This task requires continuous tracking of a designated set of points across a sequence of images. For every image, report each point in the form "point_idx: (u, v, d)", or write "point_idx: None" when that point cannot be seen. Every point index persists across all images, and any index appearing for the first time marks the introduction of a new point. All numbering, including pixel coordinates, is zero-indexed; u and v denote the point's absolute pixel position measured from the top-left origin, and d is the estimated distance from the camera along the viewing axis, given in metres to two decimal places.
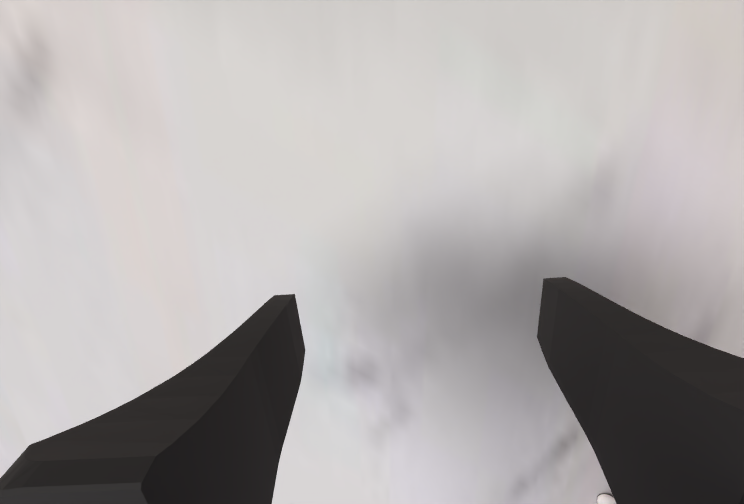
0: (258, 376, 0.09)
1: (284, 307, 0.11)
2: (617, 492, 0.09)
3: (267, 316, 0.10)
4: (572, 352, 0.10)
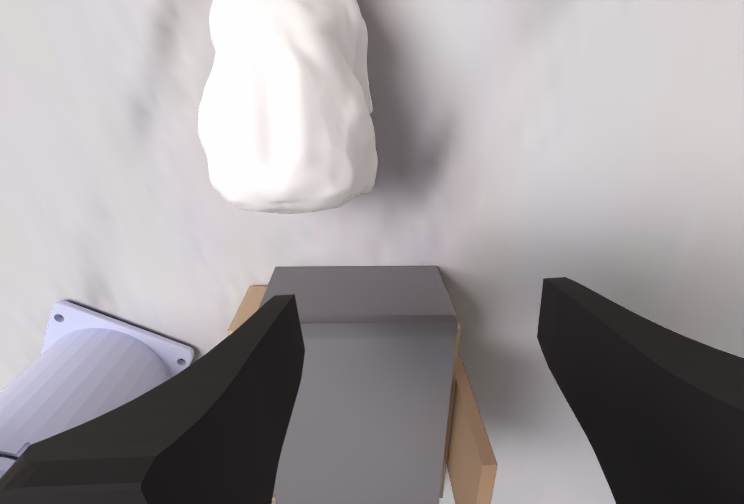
0: (258, 376, 0.09)
1: (284, 307, 0.11)
2: (617, 492, 0.09)
3: (267, 316, 0.10)
4: (572, 352, 0.10)
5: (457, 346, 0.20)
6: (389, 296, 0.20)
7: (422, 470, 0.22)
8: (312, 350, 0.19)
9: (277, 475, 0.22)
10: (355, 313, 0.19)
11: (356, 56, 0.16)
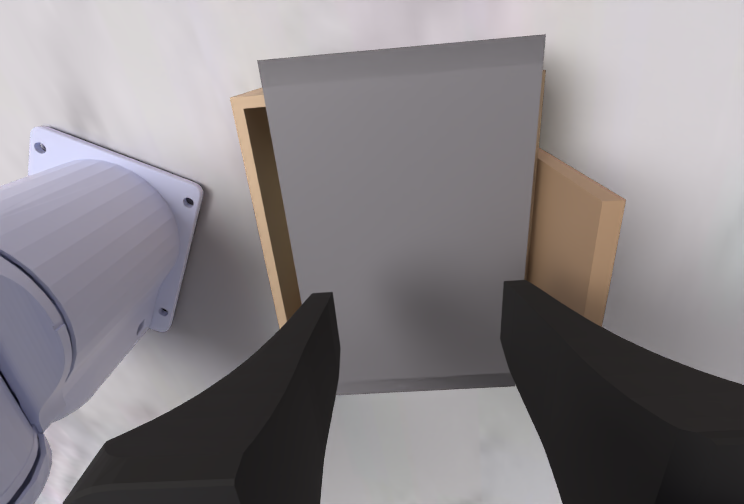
0: (308, 373, 0.09)
1: (326, 304, 0.11)
2: (564, 494, 0.09)
3: (311, 313, 0.10)
4: (526, 355, 0.10)
5: (540, 102, 0.15)
6: None
7: (496, 295, 0.17)
8: (342, 101, 0.14)
9: None
10: None
11: None
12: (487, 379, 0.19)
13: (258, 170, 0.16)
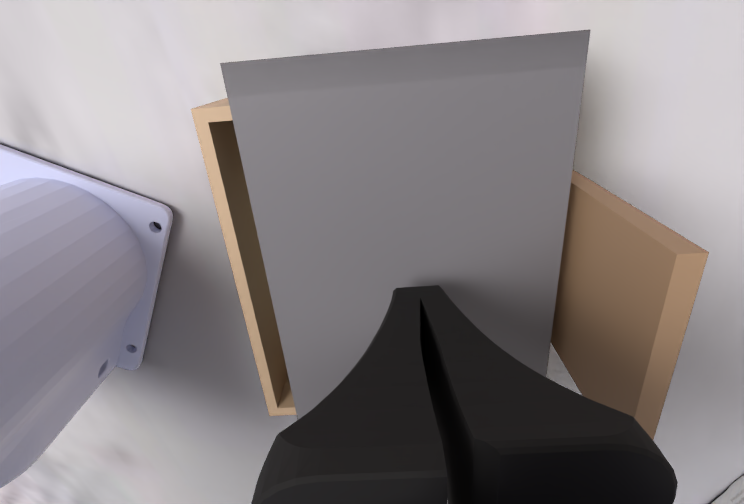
0: None
1: (419, 299, 0.11)
2: (448, 498, 0.09)
3: (408, 308, 0.10)
4: (428, 360, 0.10)
5: None
6: None
7: (518, 345, 0.14)
8: (329, 114, 0.11)
9: (293, 362, 0.14)
10: None
11: None
12: None
13: (230, 196, 0.13)
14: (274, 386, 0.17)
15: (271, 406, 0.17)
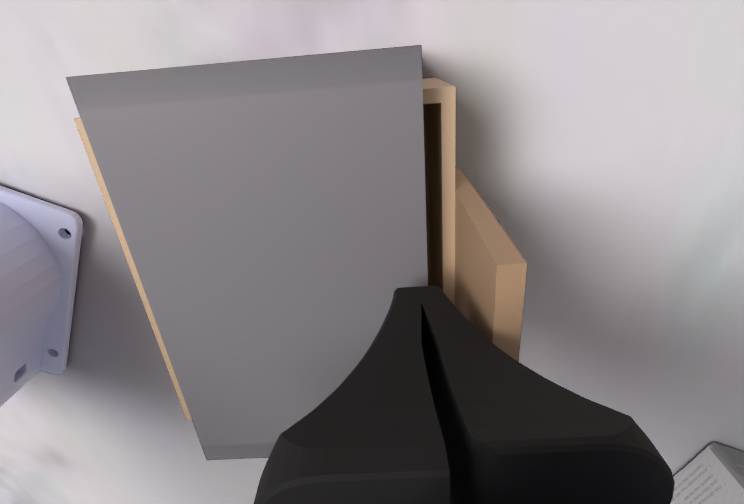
0: None
1: (420, 299, 0.11)
2: None
3: (410, 307, 0.10)
4: (427, 360, 0.10)
5: (451, 124, 0.12)
6: None
7: None
8: (179, 126, 0.11)
9: (180, 367, 0.15)
10: None
11: None
12: None
13: None
14: None
15: None
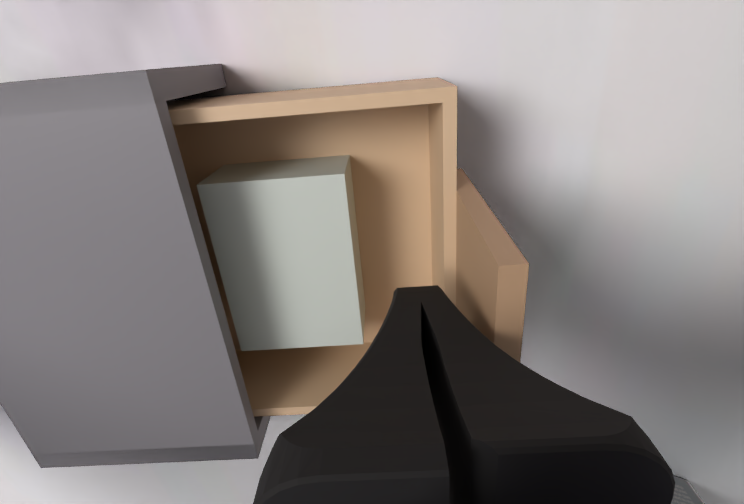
0: None
1: (420, 299, 0.11)
2: None
3: (409, 307, 0.10)
4: (427, 360, 0.10)
5: (453, 124, 0.12)
6: None
7: (199, 363, 0.15)
8: None
9: None
10: None
11: None
12: (224, 451, 0.16)
13: None
14: None
15: None
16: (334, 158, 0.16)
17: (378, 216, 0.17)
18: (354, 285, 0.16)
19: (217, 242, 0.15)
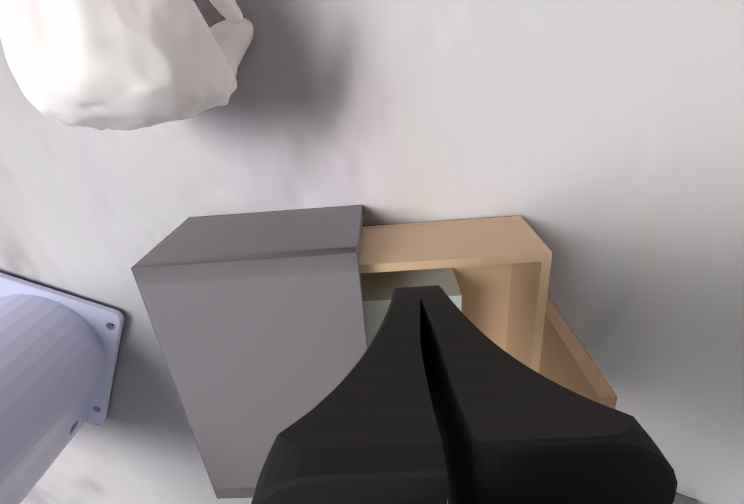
0: None
1: (419, 299, 0.11)
2: (448, 498, 0.09)
3: (408, 307, 0.10)
4: (429, 360, 0.10)
5: (547, 274, 0.18)
6: (293, 235, 0.18)
7: None
8: (202, 295, 0.17)
9: (199, 436, 0.21)
10: (247, 252, 0.17)
11: None
12: None
13: None
14: None
15: None
16: (443, 272, 0.22)
17: (468, 308, 0.23)
18: None
19: None
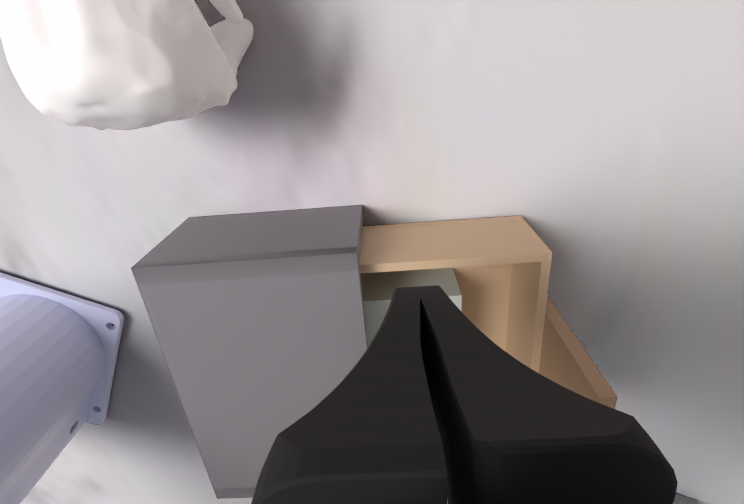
0: None
1: (419, 299, 0.11)
2: (448, 498, 0.09)
3: (408, 307, 0.10)
4: (429, 360, 0.10)
5: (547, 274, 0.18)
6: (293, 235, 0.18)
7: None
8: (202, 295, 0.17)
9: (199, 436, 0.21)
10: (247, 252, 0.17)
11: None
12: None
13: None
14: None
15: None
16: (443, 272, 0.22)
17: (468, 308, 0.23)
18: None
19: None
